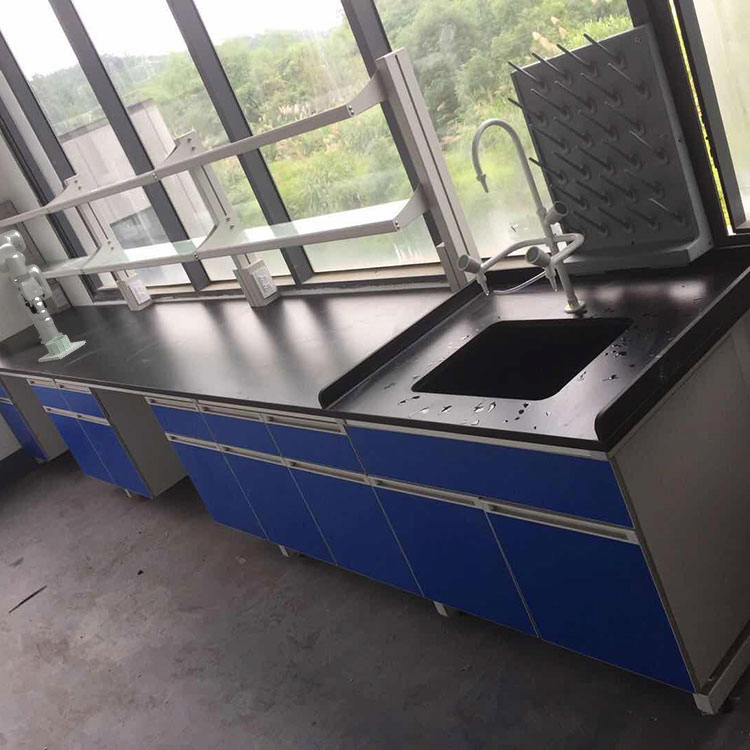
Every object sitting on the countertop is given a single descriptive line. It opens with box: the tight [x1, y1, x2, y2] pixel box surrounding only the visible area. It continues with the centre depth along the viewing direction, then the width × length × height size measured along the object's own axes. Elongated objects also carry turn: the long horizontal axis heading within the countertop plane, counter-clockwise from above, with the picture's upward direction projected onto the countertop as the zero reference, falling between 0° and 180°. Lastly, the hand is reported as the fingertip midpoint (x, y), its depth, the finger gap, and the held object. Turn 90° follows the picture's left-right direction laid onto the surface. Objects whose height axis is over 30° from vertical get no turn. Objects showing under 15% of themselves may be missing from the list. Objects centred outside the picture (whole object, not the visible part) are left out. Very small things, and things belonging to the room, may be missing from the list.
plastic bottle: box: [32, 297, 55, 328], centre depth 407 cm, size 6×7×20 cm
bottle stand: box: [37, 334, 87, 363], centre depth 414 cm, size 18×18×8 cm
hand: (40, 310), depth 407 cm, fingers closed on plastic bottle, 6 cm apart
